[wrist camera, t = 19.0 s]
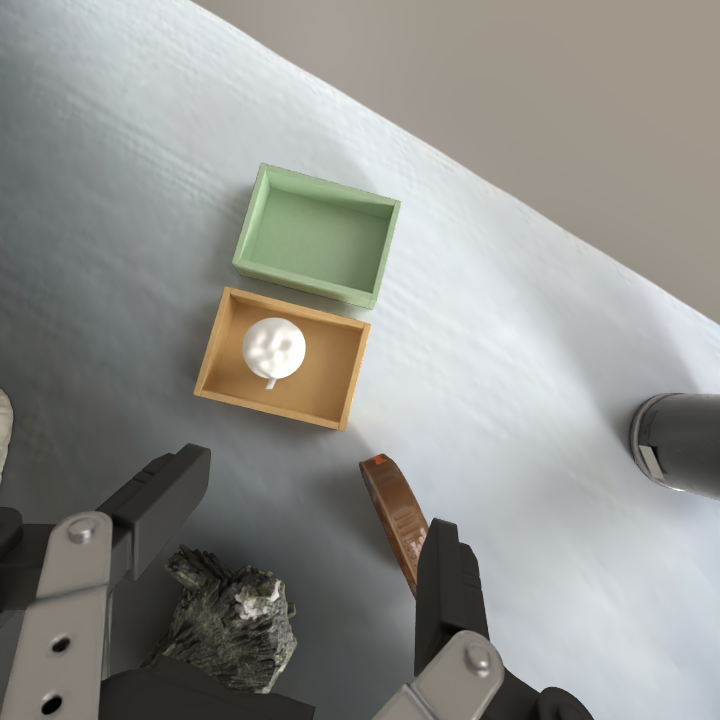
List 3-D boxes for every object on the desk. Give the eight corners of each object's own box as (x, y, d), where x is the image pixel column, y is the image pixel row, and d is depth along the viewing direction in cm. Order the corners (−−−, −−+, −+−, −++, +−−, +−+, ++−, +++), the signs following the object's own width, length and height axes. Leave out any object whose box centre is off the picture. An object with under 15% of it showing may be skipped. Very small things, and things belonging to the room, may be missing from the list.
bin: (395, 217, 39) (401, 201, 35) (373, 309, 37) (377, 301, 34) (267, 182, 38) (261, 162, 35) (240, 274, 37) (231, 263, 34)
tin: (353, 456, 36) (360, 475, 28) (384, 442, 36) (399, 457, 28) (418, 609, 35) (445, 676, 27) (448, 593, 36) (484, 654, 27)
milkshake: (261, 391, 36) (233, 389, 26) (263, 334, 36) (237, 310, 26) (310, 391, 36) (302, 390, 26) (311, 335, 36) (304, 312, 27)
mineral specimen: (120, 541, 29) (124, 663, 21) (280, 506, 36) (329, 589, 28) (116, 689, 33) (119, 843, 25) (263, 632, 40) (302, 737, 32)
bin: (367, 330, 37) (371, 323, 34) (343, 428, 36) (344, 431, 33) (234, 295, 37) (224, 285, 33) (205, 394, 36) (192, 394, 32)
